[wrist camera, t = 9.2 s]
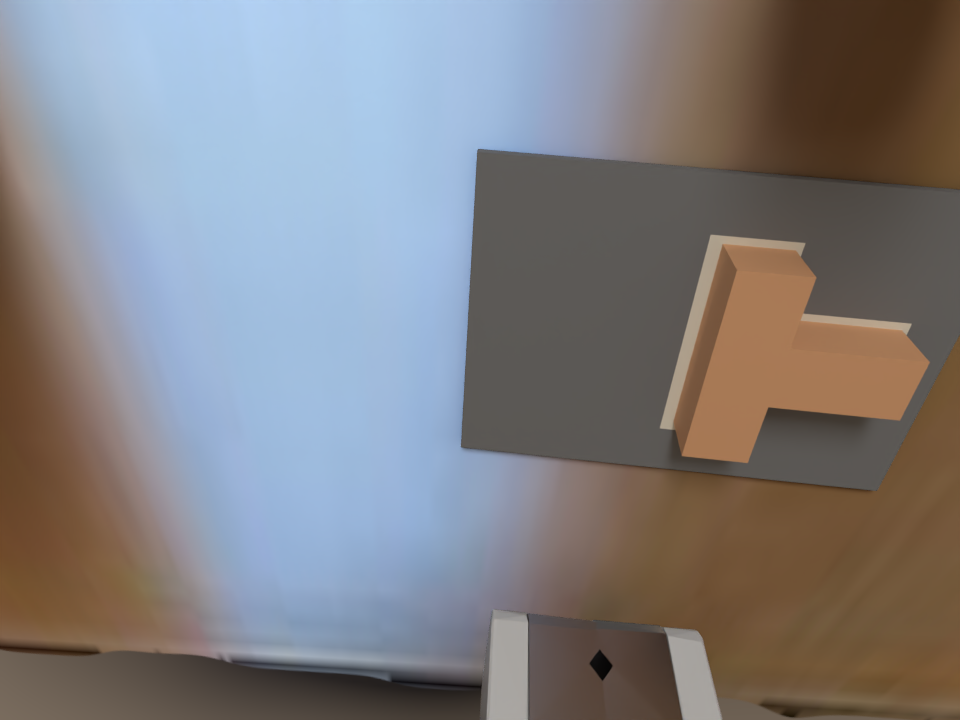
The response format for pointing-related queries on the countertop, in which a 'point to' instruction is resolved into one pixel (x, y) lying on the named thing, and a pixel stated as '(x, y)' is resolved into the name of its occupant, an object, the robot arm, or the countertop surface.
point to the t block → (781, 358)
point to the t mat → (684, 304)
